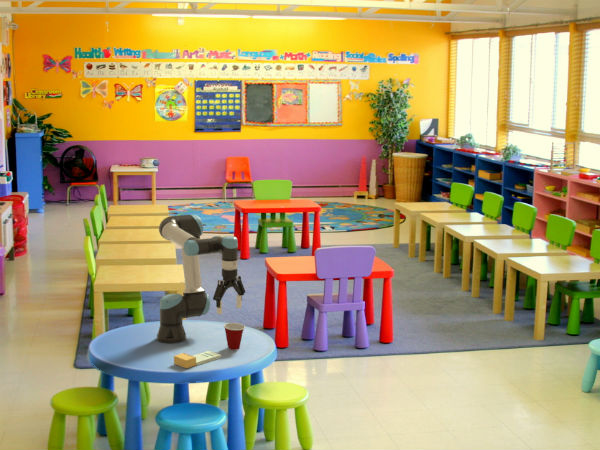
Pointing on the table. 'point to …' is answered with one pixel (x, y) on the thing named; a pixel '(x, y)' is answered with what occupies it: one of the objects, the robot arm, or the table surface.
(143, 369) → the table surface
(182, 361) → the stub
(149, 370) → the table surface
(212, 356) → the pale green flat block
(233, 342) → the plastic cup
